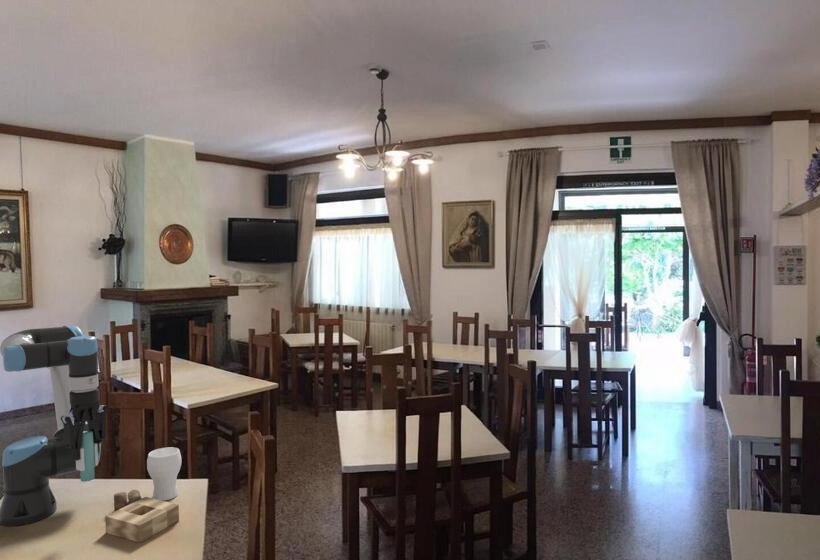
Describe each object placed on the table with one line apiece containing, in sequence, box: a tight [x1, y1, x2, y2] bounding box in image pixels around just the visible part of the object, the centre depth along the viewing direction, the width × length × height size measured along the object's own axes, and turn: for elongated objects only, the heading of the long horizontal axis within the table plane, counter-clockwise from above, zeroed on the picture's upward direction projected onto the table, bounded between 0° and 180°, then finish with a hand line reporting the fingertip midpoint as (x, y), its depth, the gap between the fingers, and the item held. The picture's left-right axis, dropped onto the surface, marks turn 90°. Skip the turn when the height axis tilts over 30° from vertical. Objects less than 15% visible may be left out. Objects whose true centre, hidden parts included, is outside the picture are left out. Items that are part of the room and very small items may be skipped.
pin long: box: [79, 431, 95, 483], centre depth 165 cm, size 4×4×14 cm
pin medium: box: [127, 489, 143, 505], centre depth 182 cm, size 4×4×8 cm
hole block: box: [104, 496, 180, 543], centre depth 167 cm, size 14×14×5 cm
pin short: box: [113, 491, 128, 512], centre depth 178 cm, size 4×4×5 cm
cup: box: [146, 446, 182, 502], centre depth 187 cm, size 11×11×15 cm
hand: (87, 467), depth 166 cm, fingers closed on pin long, 3 cm apart
